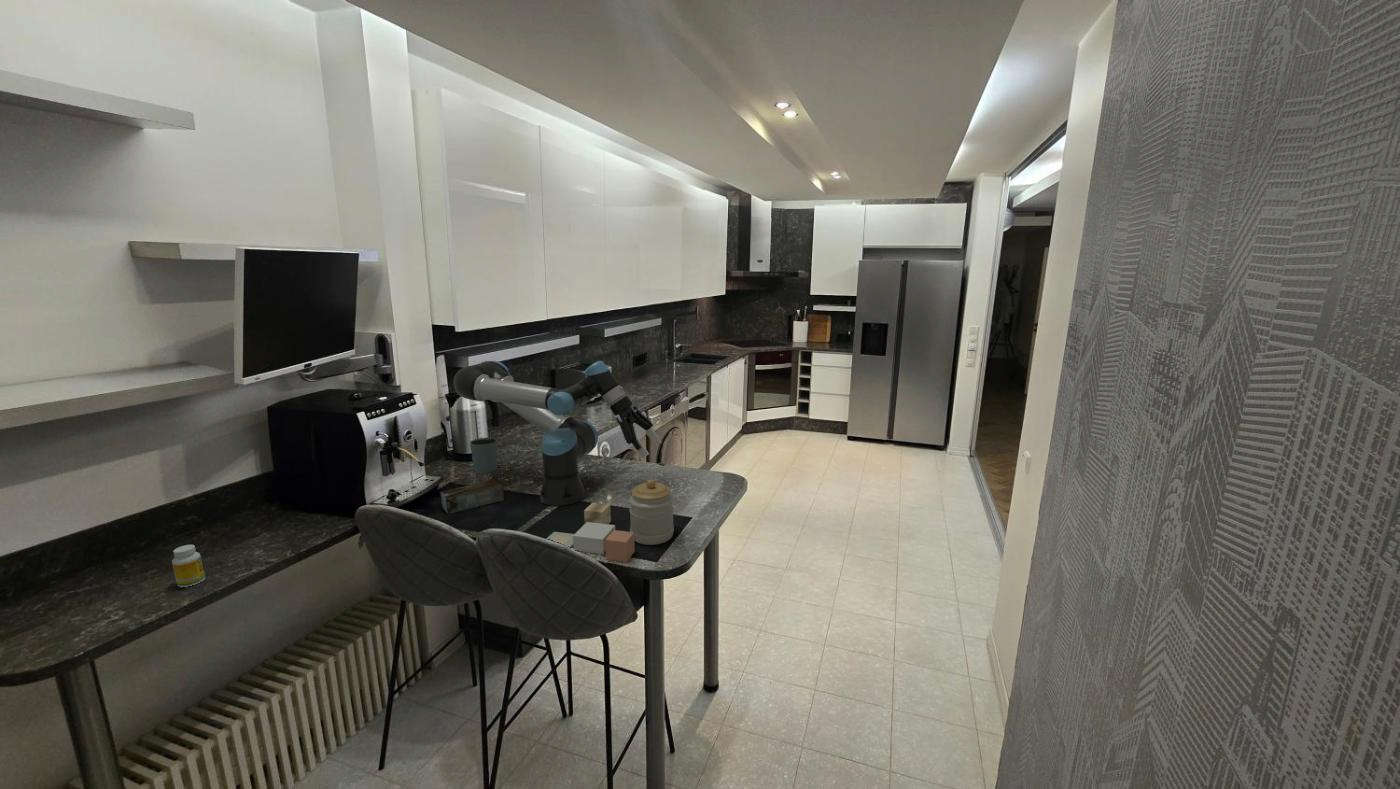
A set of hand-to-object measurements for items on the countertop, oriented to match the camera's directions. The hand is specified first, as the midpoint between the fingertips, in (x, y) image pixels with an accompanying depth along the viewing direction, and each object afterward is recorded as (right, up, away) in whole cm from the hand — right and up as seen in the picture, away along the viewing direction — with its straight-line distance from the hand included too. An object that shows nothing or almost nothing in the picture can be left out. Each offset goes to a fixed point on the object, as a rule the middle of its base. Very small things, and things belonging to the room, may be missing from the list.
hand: (652, 450), depth 196 cm
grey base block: (-13, -24, -36) cm, 45 cm away
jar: (+3, -23, -30) cm, 38 cm away
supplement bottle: (-113, -29, -54) cm, 129 cm away
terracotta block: (-5, -25, -42) cm, 49 cm away
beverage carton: (-60, -18, -7) cm, 63 cm away
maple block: (-15, -21, -23) cm, 35 cm away
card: (-24, -23, -34) cm, 48 cm away
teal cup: (-68, -10, +25) cm, 74 cm away
